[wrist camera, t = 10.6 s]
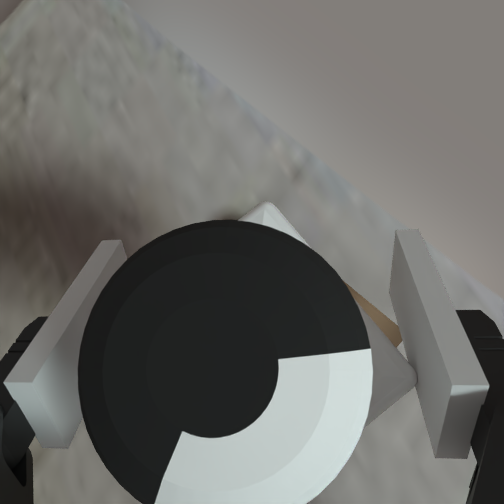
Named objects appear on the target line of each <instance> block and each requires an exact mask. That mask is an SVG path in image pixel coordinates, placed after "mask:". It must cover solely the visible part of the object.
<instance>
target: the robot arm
mask: <svg viewBox="0 0 504 504" xmlns="http://www.w3.org/2000/svg"><path fill="white" fill-rule="evenodd" d="M126 260H127V256H126V253H125V250H124V246H123V243H122V240H102V241H101V242H100V244H99V245H98V247H97V248H96V250H95V251H94V252H93V254H92V255H91V257H90V258H89V260H88V261H87V263H86V264H85V265H84V267H83V268H82V270H81V271H80V273H79V274H78V276H77V277H76V278H75V280H74V281H73V283H72V284H71V286H70V287H69V288H68V290H67V291H66V293H65V294H64V296H63V297H62V299H61V300H60V301H59V303H58V304H57V306H56V307H55V309H54V310H53V312H52V313H51V314H50V316H49V317H38V318H37V319H36V320H34V321H33V322H32V323H30V324H29V325H28V326H27V327H25V328H24V330H23V331H22V333H21V334H20V335H19V337H18V338H17V339H16V343H13V345H12V346H11V347H10V349H9V350H8V353H6V354H5V356H4V357H3V358H2V360H1V361H0V504H34V503H33V458H32V454H31V451H30V450H29V448H28V447H29V445H30V444H31V442H32V440H33V438H34V436H36V438H37V439H38V441H39V443H40V444H41V446H42V448H69V445H70V443H71V441H72V439H73V437H74V435H75V433H76V431H77V428H78V426H79V424H80V422H81V420H82V418H83V415H82V411H81V406H80V399H79V393H78V361H79V351H80V345H81V341H82V337H83V333H84V329H85V326H86V323H87V321H88V318H89V315H90V313H91V310H92V308H93V306H94V304H95V302H96V300H97V298H98V297H99V295H100V293H101V291H102V290H103V288H104V287H105V285H106V284H107V282H108V281H109V280H110V278H111V277H112V275H113V274H114V273H115V272H116V271H117V270H118V269H119V268H120V267H121V266H122V264H123V263H124V262H125V261H126ZM389 294H390V297H391V301H392V305H393V308H394V312H395V315H396V319H397V323H398V326H399V330H400V333H401V337H402V341H403V344H404V348H405V351H406V355H407V358H408V362H409V364H410V365H411V366H412V367H413V368H414V370H415V372H416V374H417V383H416V384H415V387H416V391H417V394H418V398H419V402H420V405H421V409H422V412H423V416H424V420H425V423H426V427H427V430H428V434H429V438H430V441H431V445H432V448H433V452H434V456H435V458H456V459H467V457H468V454H469V451H470V447H471V446H472V449H473V452H474V455H475V458H476V460H477V465H476V468H475V471H474V474H473V477H472V480H471V483H470V486H469V488H470V490H469V494H468V497H467V501H466V504H504V339H502V335H501V333H500V331H499V329H498V328H497V326H496V324H495V322H494V321H493V320H491V319H490V318H489V317H488V316H487V315H486V314H484V313H483V312H482V311H481V310H455V308H454V306H453V304H452V302H451V300H450V297H449V295H448V293H447V291H446V288H445V286H444V284H443V282H442V280H441V277H440V275H439V273H438V271H437V269H436V266H435V264H434V262H433V260H432V258H431V255H430V253H429V251H428V249H427V247H426V244H425V242H424V240H423V238H422V236H421V233H420V232H419V230H418V229H413V230H396V231H395V241H394V251H393V260H392V270H391V280H390V290H389Z"/></svg>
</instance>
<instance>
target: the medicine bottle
mask: <svg viewBox="0 0 504 504" xmlns="http://www.w3.org/2000/svg"><path fill="white" fill-rule="evenodd" d="M416 383H417V374H416V372H415V370H414V368H413V367H412V366H411V365H410V364H409V362H408V361H407V360H406V359H405V358H404V357H403V355H402V354H401V353H400V352H399V351H398V350H397V348H396V347H395V346H394V345H393V344H392V343H391V341H390V340H389V339H388V338H387V337H386V335H385V334H384V333H383V332H382V331H381V330H380V328H379V327H378V326H377V325H376V324H375V323H374V321H373V320H372V319H371V318H370V317H369V315H368V314H367V313H366V312H365V311H364V310H363V308H362V307H361V306H360V305H359V304H358V303H357V301H356V300H355V299H354V298H353V296H352V294H351V292H350V291H349V289H348V287H347V286H346V284H345V283H344V282H343V280H342V279H341V278H340V276H339V275H338V274H337V272H336V271H335V270H334V269H333V268H332V267H331V266H330V265H329V264H328V263H327V262H326V261H325V260H324V259H323V258H322V257H321V256H320V255H319V254H318V253H316V252H315V251H314V250H312V248H311V247H310V246H309V245H308V244H307V243H306V241H305V240H304V239H303V238H302V237H301V236H300V234H299V233H298V232H297V231H296V230H295V229H294V227H293V226H292V225H291V224H290V223H289V221H288V220H287V219H286V218H285V217H284V216H283V214H282V213H281V212H280V211H279V210H278V209H277V207H276V206H275V205H273V204H272V203H271V202H265V201H264V202H261V203H259V204H258V205H257V206H255V207H254V208H253V209H251V210H250V211H249V212H248V213H246V214H245V215H244V216H243V217H241V218H240V219H239V220H238V221H237V220H212V221H206V222H200V223H194V224H190V225H187V226H184V227H181V228H178V229H175V230H172V231H170V232H168V233H166V234H164V235H162V236H160V237H157V238H156V239H154V240H153V241H151V242H150V243H148V244H146V245H145V246H143V247H142V248H140V249H139V250H138V251H137V252H136V253H134V254H133V255H132V256H131V257H130V258H129V259H127V260H126V261H125V262H124V263H123V264H122V266H121V267H120V268H119V269H118V270H117V271H116V272H115V273H114V274H113V275H112V277H111V278H110V280H109V281H108V282H107V284H106V285H105V287H104V288H103V290H102V291H101V293H100V295H99V297H98V298H97V300H96V302H95V304H94V306H93V308H92V310H91V313H90V315H89V318H88V321H87V323H86V326H85V329H84V333H83V337H82V341H81V345H80V351H79V361H78V393H79V399H80V406H81V411H82V415H83V418H84V422H85V425H86V429H87V432H88V434H89V436H90V439H91V441H92V443H93V445H94V448H95V450H96V452H97V453H98V455H99V457H100V458H101V460H102V461H103V463H104V465H105V466H106V468H107V469H108V471H109V472H110V473H111V474H112V475H113V477H114V478H115V479H116V480H117V481H118V483H119V484H120V485H121V486H122V487H123V488H124V489H125V490H127V491H128V492H129V493H130V494H131V495H132V496H133V497H134V498H135V499H136V500H138V501H139V502H141V503H142V504H306V503H308V502H309V501H310V500H312V499H313V498H314V497H316V496H317V495H318V494H320V493H321V492H322V491H323V490H324V489H325V488H326V487H327V486H328V484H329V483H330V482H331V481H332V480H333V479H334V478H335V477H336V476H337V475H338V473H339V472H340V470H341V469H342V468H343V466H344V465H345V464H346V462H347V461H348V459H349V458H350V456H351V454H352V452H353V450H354V448H355V446H356V444H357V442H358V440H359V438H360V436H361V433H362V430H363V428H365V427H366V426H367V425H368V424H370V423H371V422H372V421H373V420H374V419H376V418H377V417H378V416H379V415H381V414H382V413H383V412H384V411H385V410H387V409H388V408H389V407H390V406H392V405H393V404H394V403H395V402H396V401H398V400H399V399H400V398H401V397H403V396H404V395H405V394H406V393H407V392H409V391H410V390H411V389H412V388H413V387H414V386H415V384H416Z"/></svg>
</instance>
